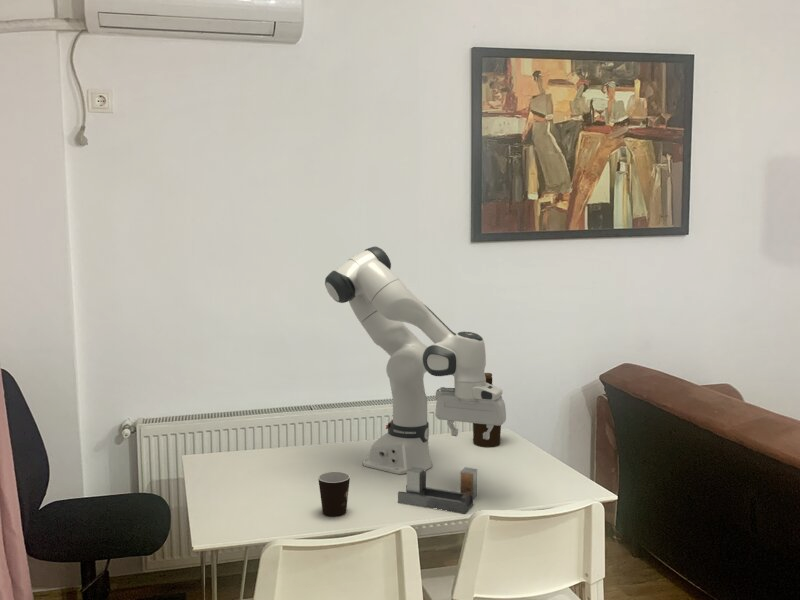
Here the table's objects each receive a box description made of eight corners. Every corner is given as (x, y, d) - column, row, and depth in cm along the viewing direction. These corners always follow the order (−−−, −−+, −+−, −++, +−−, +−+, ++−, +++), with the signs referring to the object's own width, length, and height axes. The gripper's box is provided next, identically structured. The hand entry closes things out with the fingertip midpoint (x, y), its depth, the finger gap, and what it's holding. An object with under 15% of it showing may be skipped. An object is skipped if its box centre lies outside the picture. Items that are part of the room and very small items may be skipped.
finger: (472, 501, 218) (472, 473, 217) (459, 499, 219) (459, 472, 218) (477, 495, 222) (477, 469, 221) (464, 493, 223) (464, 467, 222)
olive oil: (484, 449, 263) (484, 378, 260) (465, 441, 272) (466, 372, 269) (508, 444, 269) (509, 374, 266) (489, 437, 278) (490, 369, 275)
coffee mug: (337, 521, 204) (337, 484, 203) (312, 514, 208) (311, 478, 207) (362, 506, 214) (362, 471, 212) (337, 500, 218) (337, 466, 217)
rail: (397, 502, 216) (397, 471, 215) (407, 494, 223) (407, 464, 222) (465, 513, 208) (465, 481, 207) (473, 504, 215) (473, 473, 214)
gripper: (431, 389, 218) (432, 436, 220) (501, 395, 210) (501, 444, 212) (439, 384, 224) (440, 430, 225) (507, 390, 216) (507, 437, 217)
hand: (470, 437), depth 218 cm, fingers open, 8 cm apart
